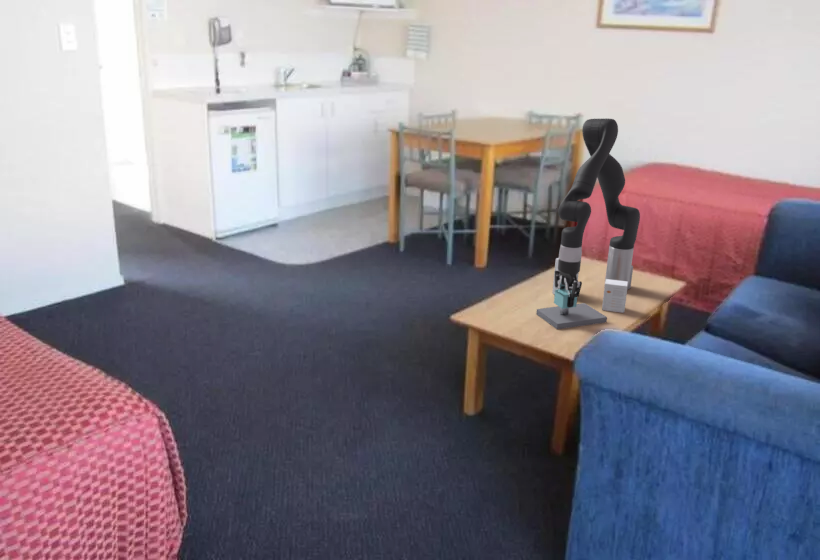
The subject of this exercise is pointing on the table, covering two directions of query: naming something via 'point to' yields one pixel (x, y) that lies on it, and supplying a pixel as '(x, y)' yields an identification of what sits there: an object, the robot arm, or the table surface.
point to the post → (564, 311)
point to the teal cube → (563, 298)
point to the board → (571, 316)
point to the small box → (615, 295)
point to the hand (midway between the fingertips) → (565, 303)
